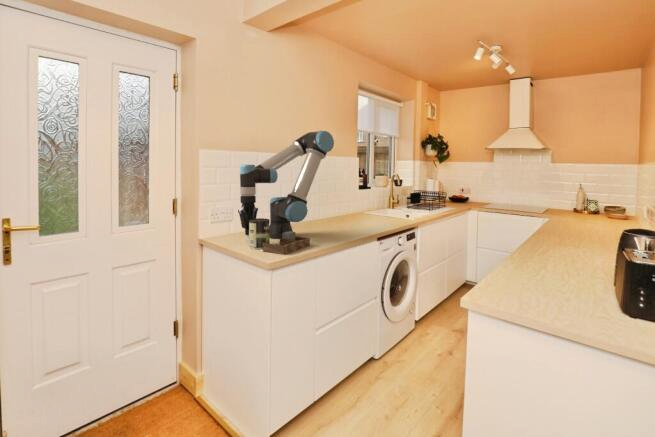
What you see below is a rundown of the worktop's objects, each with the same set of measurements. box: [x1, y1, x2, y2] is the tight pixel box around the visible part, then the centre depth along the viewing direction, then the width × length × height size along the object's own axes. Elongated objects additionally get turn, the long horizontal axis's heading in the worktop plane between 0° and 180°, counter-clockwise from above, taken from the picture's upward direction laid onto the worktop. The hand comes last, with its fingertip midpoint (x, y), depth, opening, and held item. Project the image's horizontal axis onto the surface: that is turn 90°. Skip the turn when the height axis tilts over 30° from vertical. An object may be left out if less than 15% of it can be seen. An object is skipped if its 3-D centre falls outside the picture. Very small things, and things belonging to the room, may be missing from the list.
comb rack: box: [262, 235, 311, 256], centre depth 182 cm, size 23×12×4 cm, turn 152°
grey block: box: [282, 231, 296, 240], centre depth 189 cm, size 6×4×7 cm, turn 152°
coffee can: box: [248, 217, 271, 250], centre depth 184 cm, size 10×10×14 cm
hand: (248, 240), depth 188 cm, fingers closed
